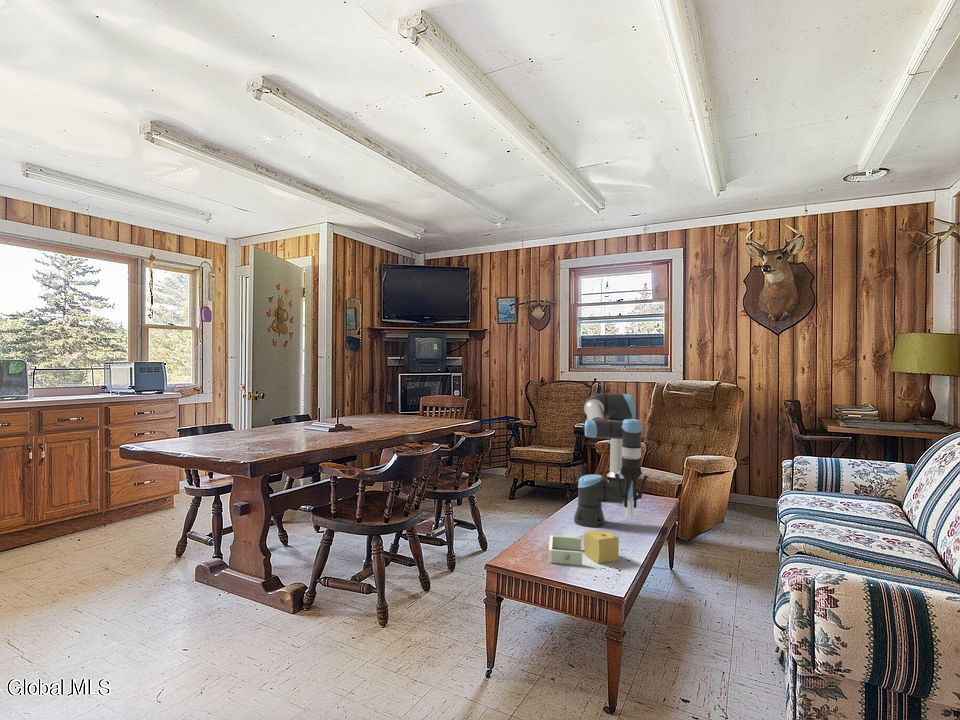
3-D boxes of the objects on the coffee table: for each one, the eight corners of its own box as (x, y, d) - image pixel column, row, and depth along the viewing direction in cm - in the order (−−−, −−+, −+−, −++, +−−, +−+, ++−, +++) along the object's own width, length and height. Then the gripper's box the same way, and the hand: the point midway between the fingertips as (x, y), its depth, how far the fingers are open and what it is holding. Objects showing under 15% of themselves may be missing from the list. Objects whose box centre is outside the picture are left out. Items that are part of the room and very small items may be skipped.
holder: (550, 546, 222) (550, 534, 222) (580, 548, 220) (581, 537, 220) (548, 563, 203) (548, 550, 203) (582, 566, 201) (582, 553, 201)
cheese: (604, 551, 217) (604, 528, 217) (619, 561, 207) (620, 537, 207) (583, 554, 213) (583, 531, 213) (598, 564, 203) (598, 539, 203)
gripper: (614, 458, 206) (613, 516, 206) (650, 460, 203) (649, 519, 203) (612, 454, 213) (611, 511, 213) (647, 456, 211) (646, 513, 211)
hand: (629, 515), depth 208 cm, fingers closed
